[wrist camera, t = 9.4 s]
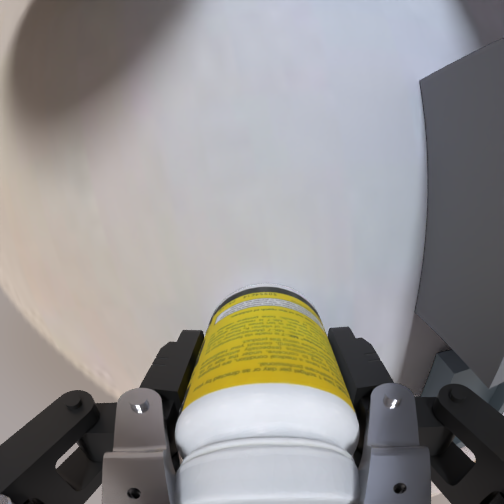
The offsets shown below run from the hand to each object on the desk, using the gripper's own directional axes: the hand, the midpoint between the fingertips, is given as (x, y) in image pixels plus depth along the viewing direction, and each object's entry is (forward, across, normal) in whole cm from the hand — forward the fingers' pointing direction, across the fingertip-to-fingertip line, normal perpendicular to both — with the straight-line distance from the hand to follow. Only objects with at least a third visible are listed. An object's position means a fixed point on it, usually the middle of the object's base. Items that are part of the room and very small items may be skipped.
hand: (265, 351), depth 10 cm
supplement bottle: (+2, 0, 0) cm, 2 cm away
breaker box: (+1, -16, -5) cm, 17 cm away
